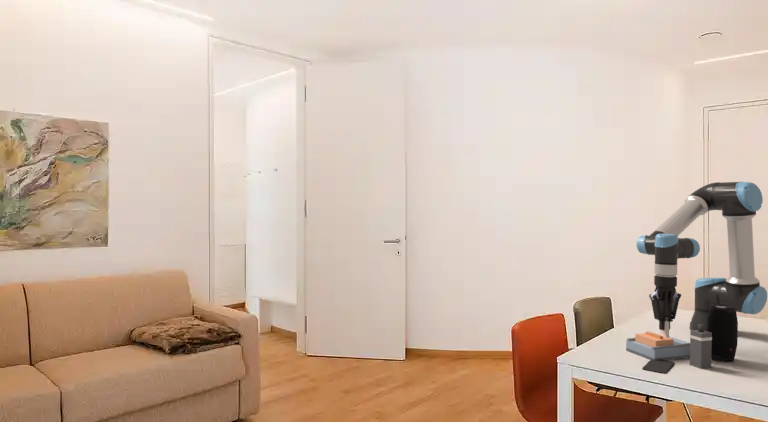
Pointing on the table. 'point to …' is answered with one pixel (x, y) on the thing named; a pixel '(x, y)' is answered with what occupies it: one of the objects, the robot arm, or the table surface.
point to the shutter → (653, 339)
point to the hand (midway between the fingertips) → (664, 338)
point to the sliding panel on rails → (659, 350)
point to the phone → (658, 366)
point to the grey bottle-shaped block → (700, 348)
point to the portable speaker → (723, 331)
